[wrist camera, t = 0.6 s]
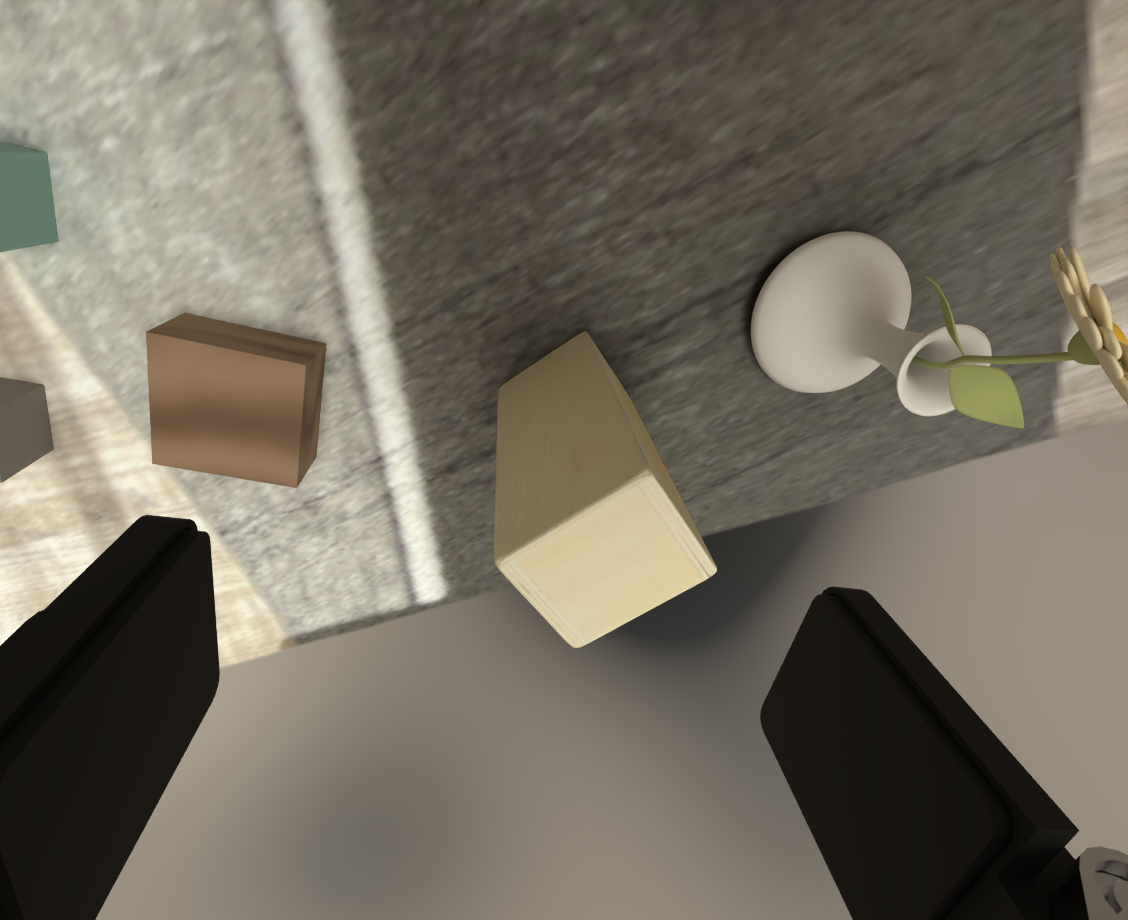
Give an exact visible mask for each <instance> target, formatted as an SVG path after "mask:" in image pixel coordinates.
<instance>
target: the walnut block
mask: <svg viewBox="0 0 1128 920" xmlns="http://www.w3.org/2000/svg"><path fill="white" fill-rule="evenodd" d="M146 341H147V361H148V382H149V402H150V423H151V443H152V464H157V465H163V466H169V467H175V468H181V469H187V470H193V471H199V472H205V473H211V474H217V475H223V476H229V477H235V478H241V479H247V480H252V481H258V482H264V483H270V484H276V485H282V486H288V487H294V488H297V487H298V485H299V484H300V482H301V481H302V479H303V477H304V476H305V474H306V472H307V471H308V469H309V468H310V466H311V464H312V463H313V461H314V460H315V458H316V455H317V443H318V432H319V421H320V409H321V398H322V387H323V375H324V364H325V353H326V344H325V343H320V342H316V341H311V340H307V339H302V338H297V337H293V336H288V335H284V334H279V333H274V332H270V331H265V330H261V329H256V328H251V327H247V326H242V325H238V324H233V323H228V322H224V321H219V320H215V319H210V318H205V317H201V316H196V315H192V314H187V313H184V314H182V315H180V316H178V317H176V318H174V319H172V320H169V321H167V322H165V323H163V324H161V325H159V326H157V327H155V328H153V329H151V330H149V331H147V332H146Z"/></svg>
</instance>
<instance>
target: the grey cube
mask: <svg viewBox="0 0 1128 920" xmlns="http://www.w3.org/2000/svg"><path fill="white" fill-rule="evenodd" d="M53 449H54V447H53V440H52V434H51V427H50V420H49V414H48V407H47V400H46V394H45V387H44V385H42V384H36V383H30V382H24V381H19V380H13V379H7V378H1V377H0V482H4V481H5V480H7V479H8V478H10V477H11V476H13V475H14V474H16V473H18V472H19V471H21V470H22V469H24V468H25V467H27V466H28V465H30V464H32V463H33V462H35V461H36V460H38V459H39V458H41V457H42V456H44V455H46V454H47V453H49V452H50V451H52V450H53Z"/></svg>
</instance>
